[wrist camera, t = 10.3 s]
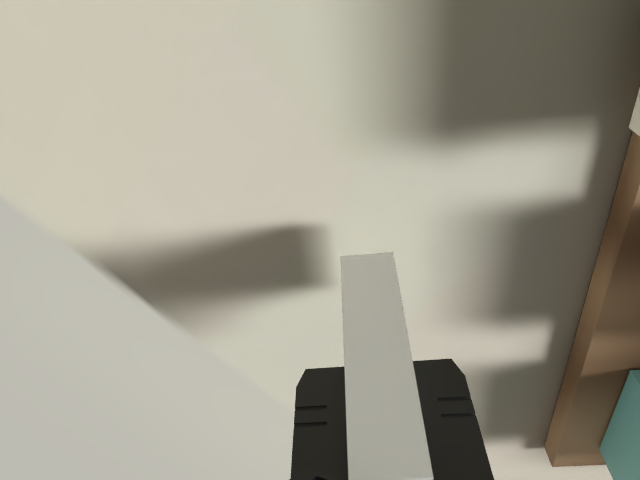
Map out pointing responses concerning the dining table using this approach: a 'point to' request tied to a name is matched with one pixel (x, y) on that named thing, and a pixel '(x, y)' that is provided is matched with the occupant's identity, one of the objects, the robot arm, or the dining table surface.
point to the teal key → (624, 433)
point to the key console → (603, 332)
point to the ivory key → (636, 117)
